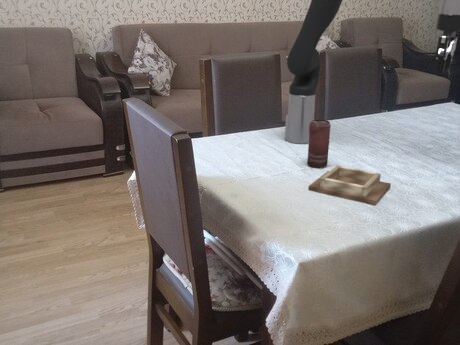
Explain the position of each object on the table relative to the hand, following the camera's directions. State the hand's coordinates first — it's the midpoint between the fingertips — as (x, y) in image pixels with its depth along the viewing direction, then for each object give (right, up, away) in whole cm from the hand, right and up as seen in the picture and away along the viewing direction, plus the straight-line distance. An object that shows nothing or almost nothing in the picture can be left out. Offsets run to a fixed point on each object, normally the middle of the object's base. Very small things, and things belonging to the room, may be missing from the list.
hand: (442, 71), depth 133 cm
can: (-35, -28, +8) cm, 46 cm away
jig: (-30, -34, -10) cm, 46 cm away
